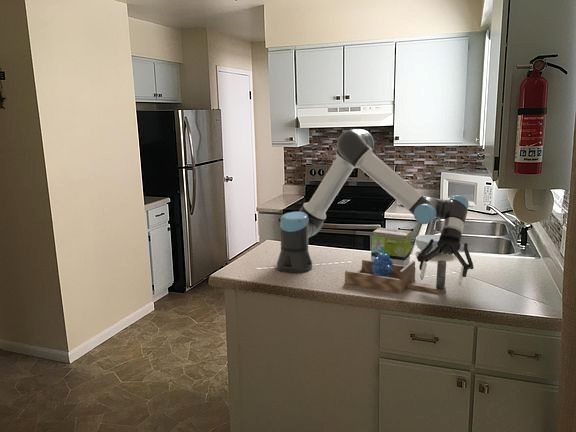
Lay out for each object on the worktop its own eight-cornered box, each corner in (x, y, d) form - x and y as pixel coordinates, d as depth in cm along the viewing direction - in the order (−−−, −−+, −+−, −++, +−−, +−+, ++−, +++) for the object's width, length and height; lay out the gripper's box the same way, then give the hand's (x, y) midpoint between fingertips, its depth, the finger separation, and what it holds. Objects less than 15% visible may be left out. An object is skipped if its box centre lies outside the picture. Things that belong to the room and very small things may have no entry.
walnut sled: (450, 285, 186) (451, 256, 184) (438, 300, 171) (440, 268, 169) (362, 271, 204) (363, 244, 202) (344, 283, 189) (345, 254, 187)
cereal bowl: (442, 260, 220) (443, 244, 219) (408, 253, 231) (409, 239, 229) (457, 252, 233) (458, 237, 231) (424, 246, 243) (425, 232, 242)
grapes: (381, 288, 184) (382, 257, 182) (367, 283, 189) (368, 253, 187) (400, 281, 191) (401, 251, 189) (386, 277, 196) (387, 248, 194)
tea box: (370, 264, 214) (371, 231, 212) (377, 258, 223) (378, 226, 220) (404, 269, 208) (405, 235, 205) (410, 262, 216) (411, 230, 213)
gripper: (487, 241, 183) (477, 291, 173) (420, 233, 196) (407, 280, 186) (486, 230, 178) (475, 281, 168) (417, 223, 190) (404, 270, 180)
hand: (439, 281), depth 177 cm, fingers open, 13 cm apart
